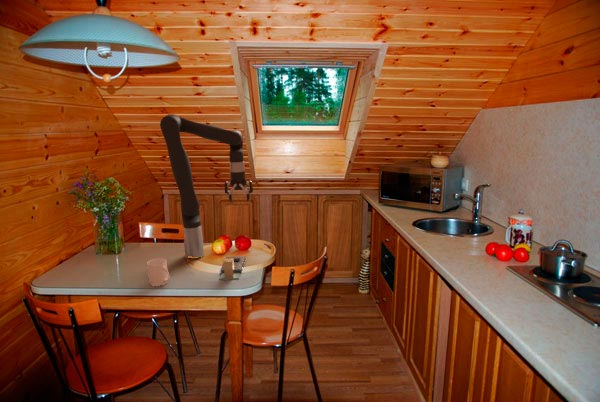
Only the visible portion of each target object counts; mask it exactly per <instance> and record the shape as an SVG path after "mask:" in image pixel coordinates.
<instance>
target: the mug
mask: <svg viewBox="0 0 600 402" xmlns="http://www.w3.org/2000/svg"><path fill="white" fill-rule="evenodd" d="M146 266H147V275H148V281H149V285H150V284H151V285H154V286H159V285H163V286H165V285H167V284H168V283H169V281H170V273H169V270H168V263H167V259H166V258H162V257H159V258H157V257H156V258H152V259H150V260H148V261H147V262H146ZM166 283H167V284H166ZM164 284H165V285H164ZM151 285H150V286H151ZM154 286H153V287H154ZM159 287H160V286H159Z"/></svg>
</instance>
